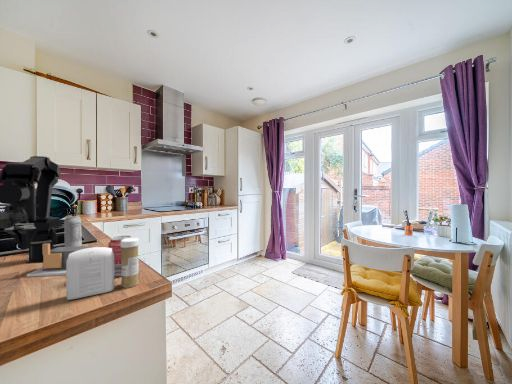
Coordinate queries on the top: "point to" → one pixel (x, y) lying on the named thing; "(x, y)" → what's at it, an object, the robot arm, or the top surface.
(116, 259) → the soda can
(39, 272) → the grey and white panel
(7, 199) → the robot arm
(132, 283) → the sprinkles bottle
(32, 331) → the top surface
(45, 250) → the wooden block
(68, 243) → the energy drink can
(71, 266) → the grey rounded-corner block
